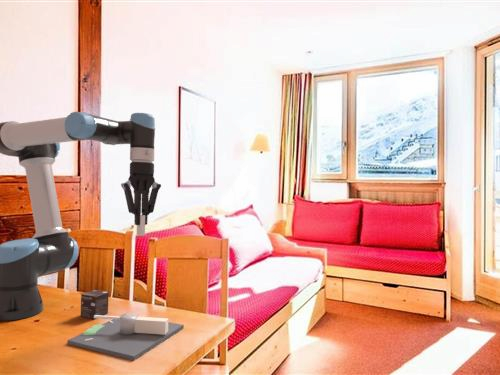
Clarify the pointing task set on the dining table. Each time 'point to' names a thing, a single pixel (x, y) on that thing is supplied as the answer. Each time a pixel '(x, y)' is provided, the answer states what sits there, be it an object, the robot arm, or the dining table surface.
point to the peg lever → (139, 324)
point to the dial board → (121, 340)
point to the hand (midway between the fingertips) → (140, 235)
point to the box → (94, 303)
